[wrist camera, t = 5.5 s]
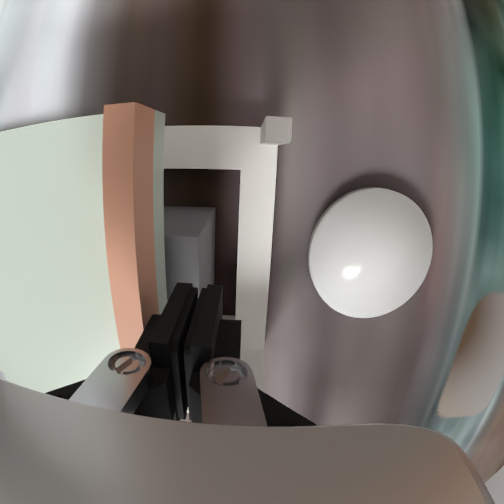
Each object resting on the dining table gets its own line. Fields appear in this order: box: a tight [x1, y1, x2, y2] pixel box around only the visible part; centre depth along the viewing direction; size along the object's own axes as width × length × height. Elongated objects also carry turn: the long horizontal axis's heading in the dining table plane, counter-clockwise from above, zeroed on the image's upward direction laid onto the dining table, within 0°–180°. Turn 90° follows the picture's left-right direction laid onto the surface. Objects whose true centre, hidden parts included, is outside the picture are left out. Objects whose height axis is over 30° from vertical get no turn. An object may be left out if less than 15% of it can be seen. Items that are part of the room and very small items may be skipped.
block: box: [164, 206, 216, 302], centre depth 17 cm, size 5×5×7 cm
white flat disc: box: [307, 187, 433, 318], centre depth 20 cm, size 9×9×1 cm
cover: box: [0, 102, 167, 393], centre depth 12 cm, size 11×15×3 cm
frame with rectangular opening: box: [0, 116, 292, 413], centre depth 17 cm, size 24×15×7 cm, turn 87°
